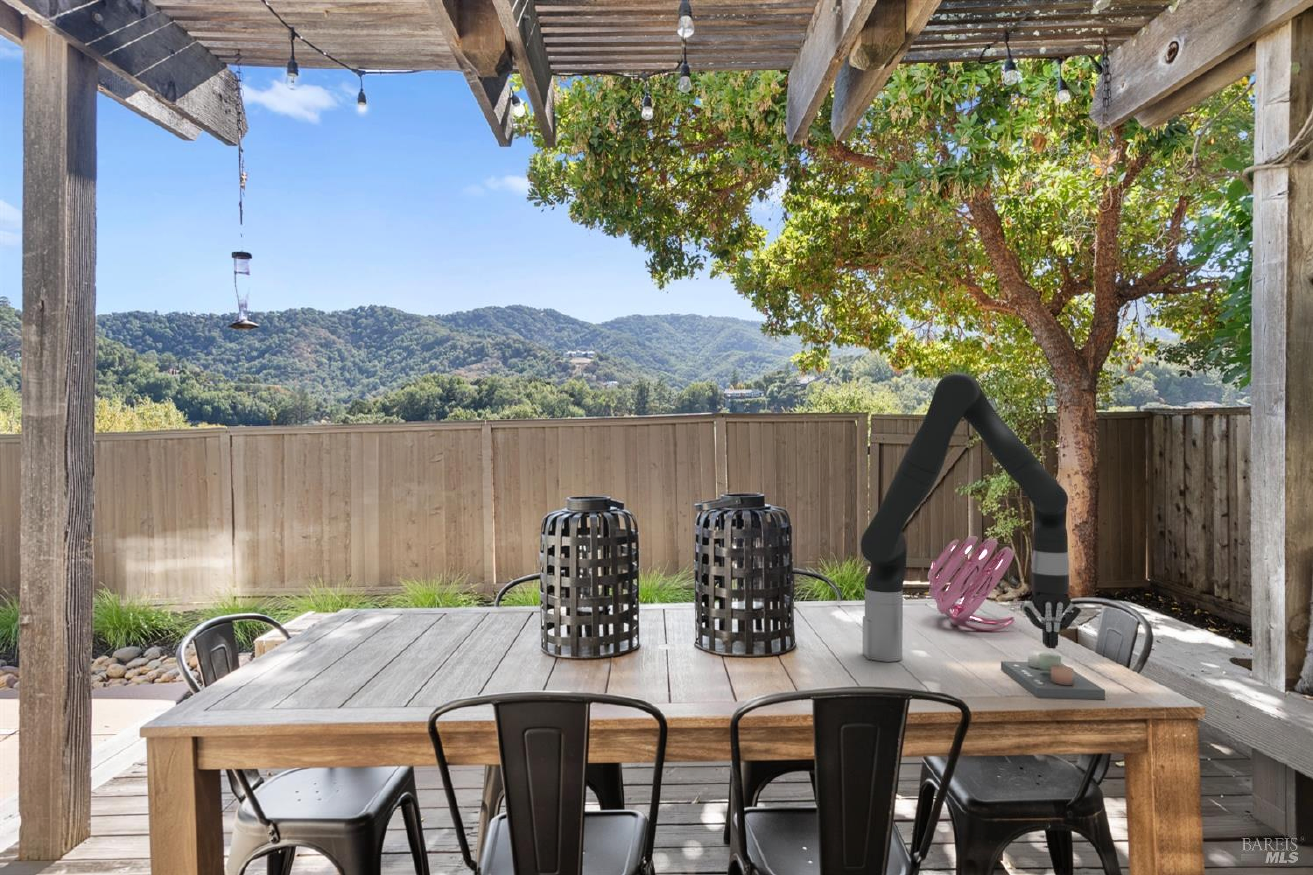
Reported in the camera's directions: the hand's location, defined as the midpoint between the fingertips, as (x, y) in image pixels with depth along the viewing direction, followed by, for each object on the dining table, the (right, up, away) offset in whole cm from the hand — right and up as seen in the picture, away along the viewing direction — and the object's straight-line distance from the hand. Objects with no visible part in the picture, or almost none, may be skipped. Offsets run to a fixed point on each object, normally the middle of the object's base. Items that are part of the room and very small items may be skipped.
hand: (1050, 647), depth 171 cm
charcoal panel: (0, -8, 0) cm, 8 cm away
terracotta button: (0, -6, -6) cm, 8 cm away
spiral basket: (+5, -9, +55) cm, 56 cm away
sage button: (0, -5, 0) cm, 5 cm away
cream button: (0, -6, +6) cm, 8 cm away
